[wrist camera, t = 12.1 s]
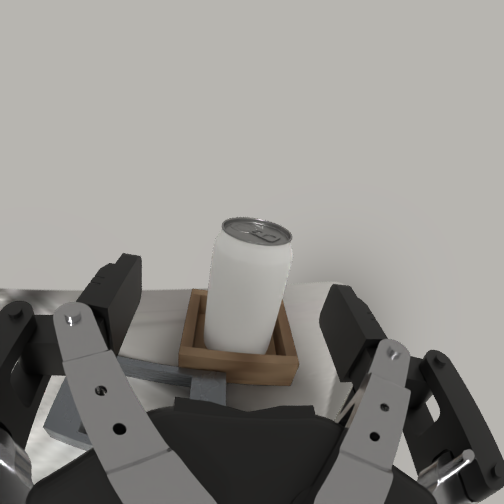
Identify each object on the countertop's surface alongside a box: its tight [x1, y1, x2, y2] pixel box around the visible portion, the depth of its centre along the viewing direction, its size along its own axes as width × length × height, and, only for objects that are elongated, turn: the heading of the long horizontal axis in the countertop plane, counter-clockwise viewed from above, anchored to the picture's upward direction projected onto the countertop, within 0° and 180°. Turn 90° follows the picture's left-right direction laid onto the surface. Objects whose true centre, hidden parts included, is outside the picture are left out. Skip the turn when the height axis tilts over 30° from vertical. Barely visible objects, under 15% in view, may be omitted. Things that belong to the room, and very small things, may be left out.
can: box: [204, 217, 293, 355], centre depth 25 cm, size 6×6×12 cm
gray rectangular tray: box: [43, 356, 226, 451], centre depth 17 cm, size 13×9×2 cm
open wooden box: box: [179, 289, 299, 386], centre depth 27 cm, size 10×10×3 cm
